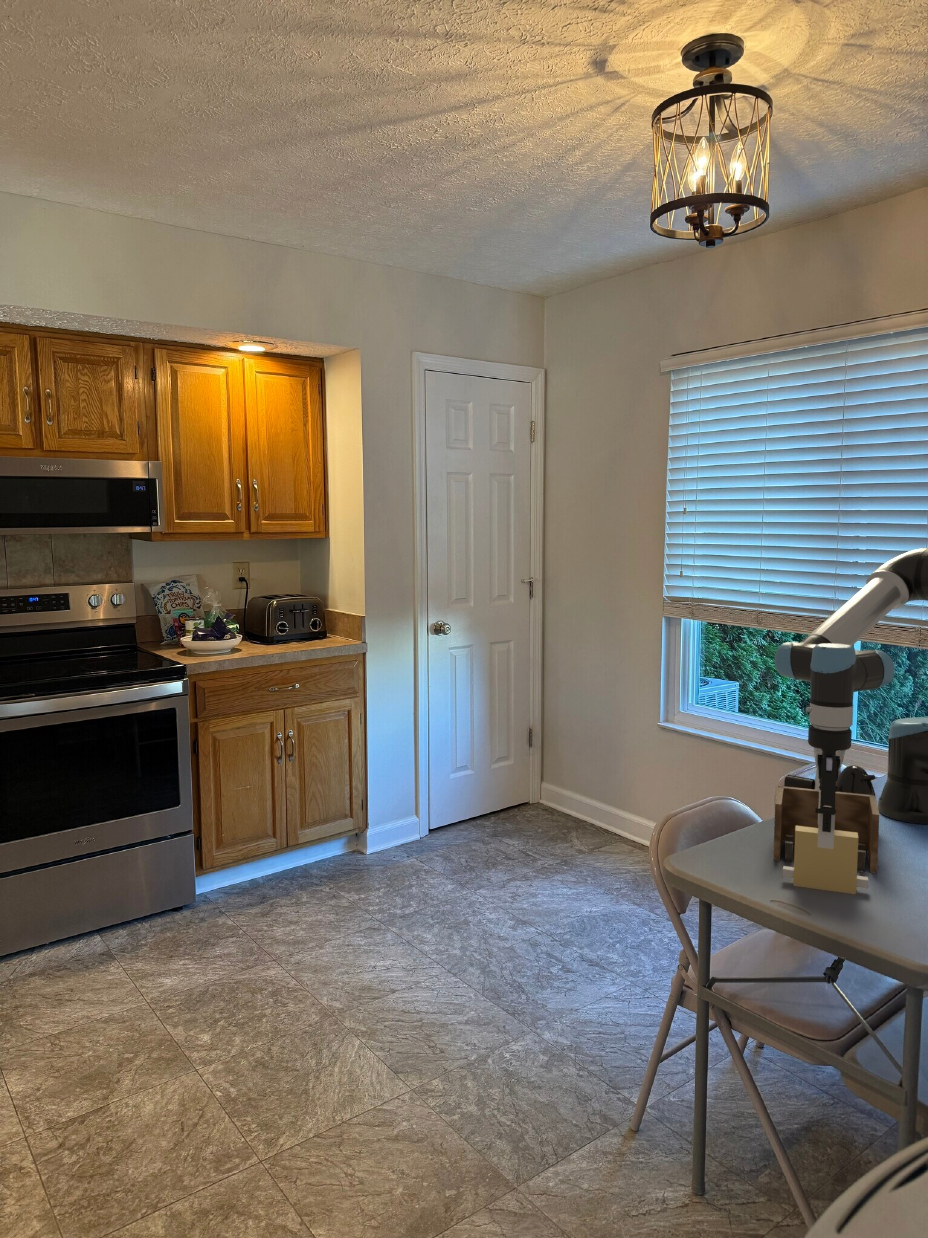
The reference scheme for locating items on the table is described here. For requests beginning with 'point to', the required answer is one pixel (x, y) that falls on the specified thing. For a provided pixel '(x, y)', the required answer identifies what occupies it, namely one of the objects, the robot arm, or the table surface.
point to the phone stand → (799, 782)
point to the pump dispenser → (855, 781)
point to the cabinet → (849, 816)
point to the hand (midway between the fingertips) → (825, 835)
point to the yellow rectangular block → (826, 862)
